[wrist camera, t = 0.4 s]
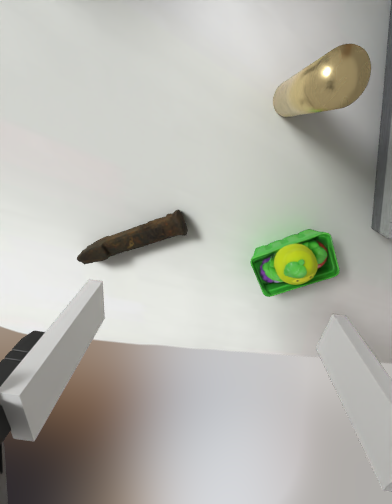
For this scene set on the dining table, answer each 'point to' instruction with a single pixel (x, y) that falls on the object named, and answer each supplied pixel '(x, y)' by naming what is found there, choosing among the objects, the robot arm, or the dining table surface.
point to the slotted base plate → (385, 154)
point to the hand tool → (135, 238)
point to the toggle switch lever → (325, 83)
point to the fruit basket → (295, 262)
